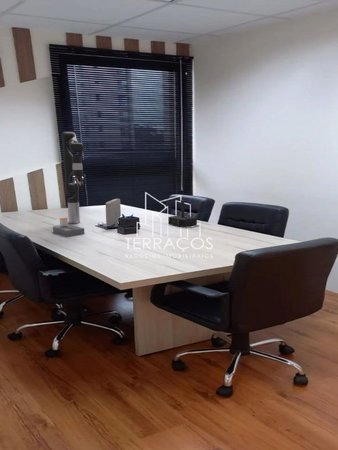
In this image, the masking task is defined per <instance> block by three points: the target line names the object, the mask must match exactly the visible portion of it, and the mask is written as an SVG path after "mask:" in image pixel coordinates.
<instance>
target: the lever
mask: <svg viewBox="0 0 338 450" xmlns="http://www.w3.org/2000/svg"><path fill="white" fill-rule="evenodd" d="M68 224H69V219H68V217H60V218H59V226H62V227H63V226H68Z"/></svg>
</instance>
